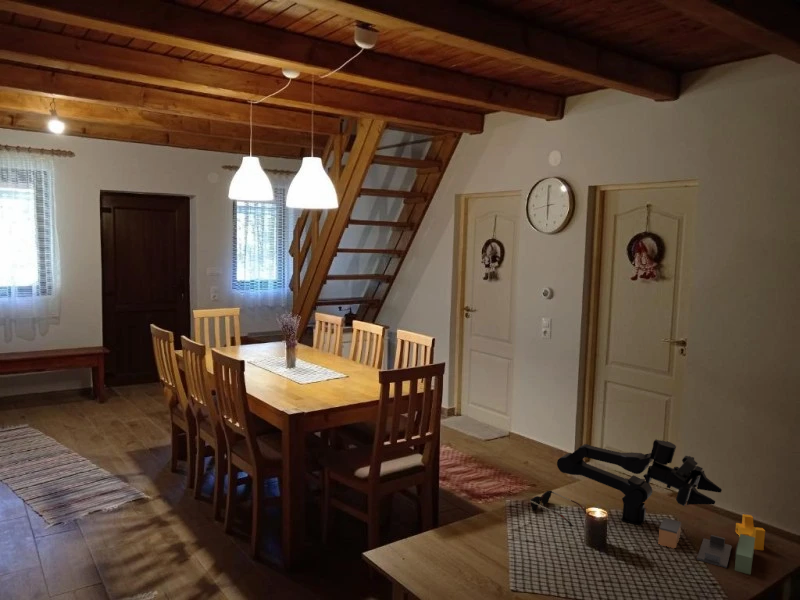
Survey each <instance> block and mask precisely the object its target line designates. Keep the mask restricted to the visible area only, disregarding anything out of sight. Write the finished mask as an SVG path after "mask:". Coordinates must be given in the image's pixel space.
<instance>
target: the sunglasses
mask: <svg viewBox="0 0 800 600" xmlns="http://www.w3.org/2000/svg"><path fill="white" fill-rule="evenodd" d="M552 494H553V495H554V494H555V495H556V496H559V497H561V498H563V499H566V500H567V501H570V502H572V503H573V504H574V503H575V504H576V505H578V506H580V508H581V509H582V511H583V512H584V514H585V512H586V511H585V508H584V507H583V506H582V505H581V504H580V503H578V502H577V501H574V500H573V499H570V498H567V497H565V496H563V495H561V494H558V493H556V492H554V491H553V490H546V491H545V492H544V493H542V495H541V496H539V495H538V496H537V495H536V496H534V497H532V498H531V499H530V500H529V503H530V508H531V511H535V510H537V509H538V508H539V507H541V508H543V509H546V510H547V511H549V512H552V513H554V514H556V515H558V516H560V517H562V519H564V520H565V521H566V522H567V523H568V525H570V527H574V525H573V524H572V523H571V522H570V521H569V520H568V519H567V518H566V517H564V516H563V515H562V514H561V513H558V512H556V511H554V510H553V509H549V508H547V507H545V506H544V505H546V504H548V503H549V501H550V498H551V496H552ZM541 504H542V505H541Z"/></svg>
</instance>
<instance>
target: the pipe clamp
mask: <svg viewBox="0 0 800 600" xmlns="http://www.w3.org/2000/svg"><path fill="white" fill-rule="evenodd" d="M741 519H742V520H741V523H739V522H736V523H735V533H736V535H737V534H738V535H739V536H738V538H740V534H743V535H747V536H751V537H755V544H754V550H756V551H757V550H758V551H764V550H765V549H764V547H765V537H766V530H765V529H764V528H763V527H755V525H754V517H753V516H752V514H746V513H745V514H744V513H742V518H741Z"/></svg>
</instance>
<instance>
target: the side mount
mask: <svg viewBox="0 0 800 600" xmlns="http://www.w3.org/2000/svg"><path fill="white" fill-rule="evenodd" d="M699 548H700V549H699V551H698V554H697V556H696V561H700V562H704V563H707V564H709V565H715V566H718V567H722V568H725V569H727V568H728V565H729V561H730V557H731V552H732V548H733V547H732V545H731V544H729V543H728V544H727V543H726V538H725V537H722V536H718V535H714V534H710V539H707V538H702V542H701V545H700V547H699Z"/></svg>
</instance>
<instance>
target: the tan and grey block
mask: <svg viewBox="0 0 800 600" xmlns="http://www.w3.org/2000/svg"><path fill="white" fill-rule="evenodd" d="M658 528H659V529H658V531H659V532H658V541H657V543H658V545H659V544H660V545H659V546H663V547H666V546H667V548H670V547H671V548H670V549H674V548H677V546H678V544H677V543H679V540H680V539H681V538H680V537H681V528H682V521H678V520H675V519H672V518H667V517H664V518H663V520H662V521H661V524H660V525H659V527H658ZM679 538H680V539H679Z"/></svg>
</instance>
